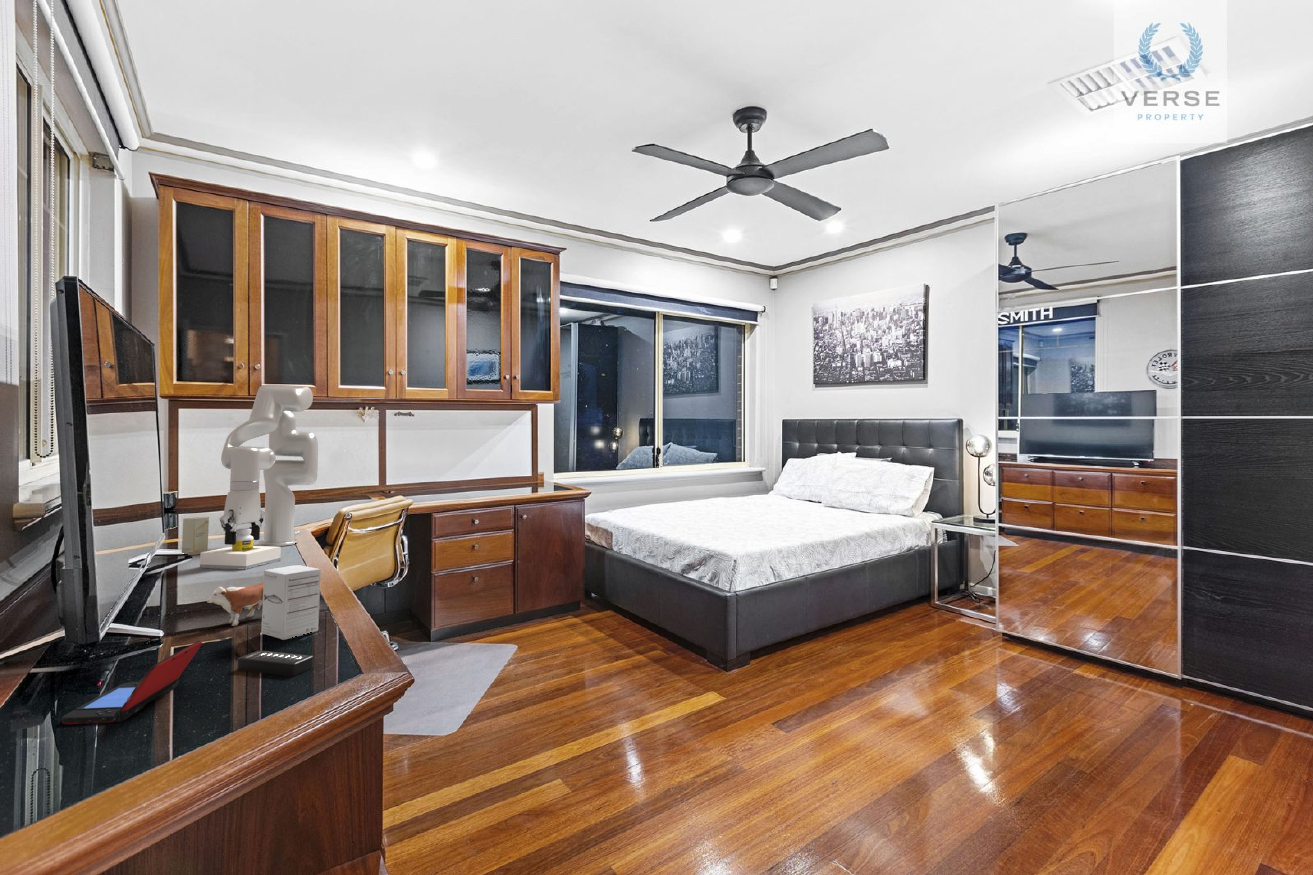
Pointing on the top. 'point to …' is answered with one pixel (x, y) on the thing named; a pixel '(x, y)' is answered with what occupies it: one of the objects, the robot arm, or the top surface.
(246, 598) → the bull figurine
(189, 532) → the skincare box
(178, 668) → the handheld game console
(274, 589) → the supplement box
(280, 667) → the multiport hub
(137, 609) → the top surface
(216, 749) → the top surface
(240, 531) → the supplement bottle
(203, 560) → the sleeve holder
